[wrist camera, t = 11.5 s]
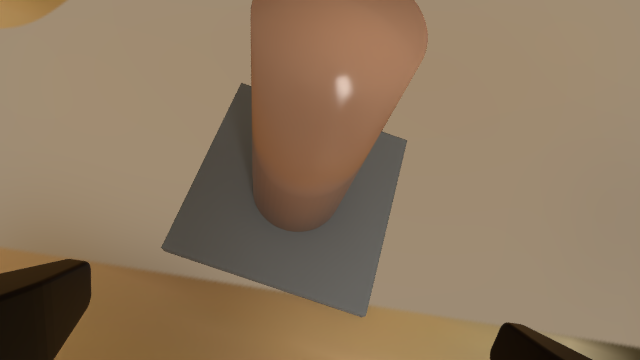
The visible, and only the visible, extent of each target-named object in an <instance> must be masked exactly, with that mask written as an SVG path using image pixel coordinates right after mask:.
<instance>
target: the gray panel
mask: <svg viewBox="0 0 640 360" xmlns="http://www.w3.org/2000/svg"><path fill="white" fill-rule="evenodd" d="M406 143H407V140H405V139H402V138H399V137H395V136H393V135H390V134H387V133H384V132H381V133H380V135H379V137H378V138H377V140H376V142H375V143H374V145H373V147H372V149H371V150H370V152H369V154H368V156H367V157H366V159H365V161H364V163H363V164H362V166H361V168H360V170H359V171H358V173H357V175H356V176H355V178H354V180H353V182H352V183H351V185H350V187H349V189H348V190H347V192H346V194H345V196H344V197H343V199H342V201H341V203H340V204H339V206H338V208H337V210H336V211H335V213H334V214H333V216H332V217H331V218H330V219H329V220H328V221H327V222H326V223H324V224H323V225H321V226H320V227H318V228H315V229H313V230H309V231H303V232H293V231H287V230H283V229H281V228H278V227H276V226H275V225H273V224H271V223H270V222H269V221H267V220H266V219H265V218H264V217H263V215H262V214H261V213H260V212H259V210H258V208H257V206H256V204H255V201H254V197H253V177H252V86H249V85H246V84H243V83H241V85H240V87H239V89H238V91H237V93H236V95H235V97H234V99H233V101H232V103H231V105H230V107H229V109H228V112H227V114H226V116H225V118H224V120H223V122H222V124H221V126H220V128H219V130H218V132H217V134H216V136H215V138H214V140H213V142H212V144H211V146H210V149H209V150H208V153H207V155H206V157H205V159H204V161H203V163H202V165H201V167H200V169H199V171H198V173H197V175H196V177H195V179H194V181H193V184H192V185H191V188H190V190H189V192H188V194H187V196H186V198H185V200H184V202H183V204H182V206H181V208H180V210H179V212H178V214H177V216H176V218H175V220H174V223H173V224H172V227H171V229H170V231H169V233H168V235H167V237H166V239H165V241H164V243H163V245H162V247H161V248H162V249H163V250H164V251H166V252H169V253H172V254H175V255H178V256H181V257H184V258H187V259H190V260H193V261H195V262H198V263H201V264H204V265H208V266H210V267H213V268H216V269H220V270H222V271H225V272H229V273H231V274H234V275H237V276H240V277H243V278H246V279H249V280H252V281H255V282H258V283H261V284H264V285H267V286H270V287H273V288H276V289H279V290H282V291H285V292H288V293H291V294H294V295H297V296H300V297H303V298H306V299H309V300H312V301H315V302H318V303H321V304H324V305H327V306H330V307H333V308H336V309H339V310H342V311H345V312H348V313H351V314H354V315H357V316H360V317H364V316H366V313H367V309H368V304H369V300H370V296H371V292H372V287H373V283H374V279H375V275H376V270H377V266H378V262H379V257H380V253H381V249H382V245H383V241H384V236H385V231H386V228H387V224H388V219H389V215H390V211H391V206H392V202H393V198H394V194H395V189H396V185H397V181H398V177H399V172H400V168H401V164H402V160H403V155H404V151H405V147H406Z"/></svg>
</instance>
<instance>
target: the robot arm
mask: <svg viewBox="0 0 640 360" xmlns="http://www.w3.org/2000/svg"><path fill="white" fill-rule="evenodd" d="M90 299H91V268H90V264H89V263H88V262H86V261H80V260H73V259H65V260H61V261H56V262H52V263H47V264H43V265H38V266H33V267H29V268H24V269H20V270H15V271H10V272H6V273H1V274H0V360H53V359H54V358H55V357H56V355H57V353H58V352H59V350H60V349H61V347H62V346H63V344H64V343H65V341H66V340H67V338H68V337H69V335H70V334H71V332H72V331H73V329H74V327H75V326H76V324H77V323H78V321H79V320H80V318H81V317H82V315H83V314H84V312H85V311H86V309H87V307H88V305H89V303H90ZM490 360H592V359H590V358H588V357H586V356H584V355H582V354H580V353H578V352H576V351H574V350H572V349H570V348H568V347H566V346H564V345H562V344H560V343H558V342H556V341H554V340H552V339H550V338H548V337H546V336H544V335H542V334H540V333H538V332H536V331H534V330H532V329H530V328H528V327H526V326H524V325H521V324H515V323H504V324H503V325H502V326H501V328H500V330H499V332H498V335H497V337H496V339H495V341H494V344H493V346H492V348H491V352H490Z"/></svg>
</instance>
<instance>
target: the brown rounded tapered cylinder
mask: <svg viewBox="0 0 640 360" xmlns="http://www.w3.org/2000/svg"><path fill="white" fill-rule="evenodd" d="M427 42H428V34H427V27H426V22H425V20H424V17H423V14H422V12H421V10H420V8H419V6H418V5H417V4H416V2H415V1H414V0H253V1H252V6H251V76H252V77H251V81H252V82H251V85H252V177H253V197H254V201H255V204H256V206H257V208H258V210H259V212H260V213H261V214H262V215H263V217H264V218H265V219H266V220H267V221H269V222H270V223H271V224H273V225H275V226H276V227H278V228H281V229H283V230H287V231H293V232H303V231H309V230H313V229H315V228H318V227H320V226H321V225H323V224H324V223H326V222H327V221H328V220H329V219H330V218H331V217H332V216H333V214H334V213H335V211H336V210H337V208H338V206H339V204H340V203H341V201H342V199H343V197H344V196H345V194H346V192H347V190H348V189H349V187H350V185H351V183H352V182H353V180H354V178H355V176H356V175H357V173H358V171H359V170H360V168H361V166H362V164H363V163H364V161H365V159H366V157H367V156H368V154H369V152H370V150H371V149H372V147H373V145H374V143H375V142H376V140H377V138H378V137H379V135H380V133H381V131H382V130H383V128H384V126H385V124H386V123H387V121H388V119H389V117H390V116H391V114H392V112H393V110H394V109H395V107H396V105H397V103H398V102H399V100H400V98H401V96H402V95H403V93H404V91H405V90H406V88H407V86H408V84H409V83H410V81H411V79H412V77H413V76H414V74H415V72H416V70H417V69H418V67H419V65H420V63H421V61H422V60H423V58H424V55H425V52H426V49H427Z"/></svg>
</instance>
